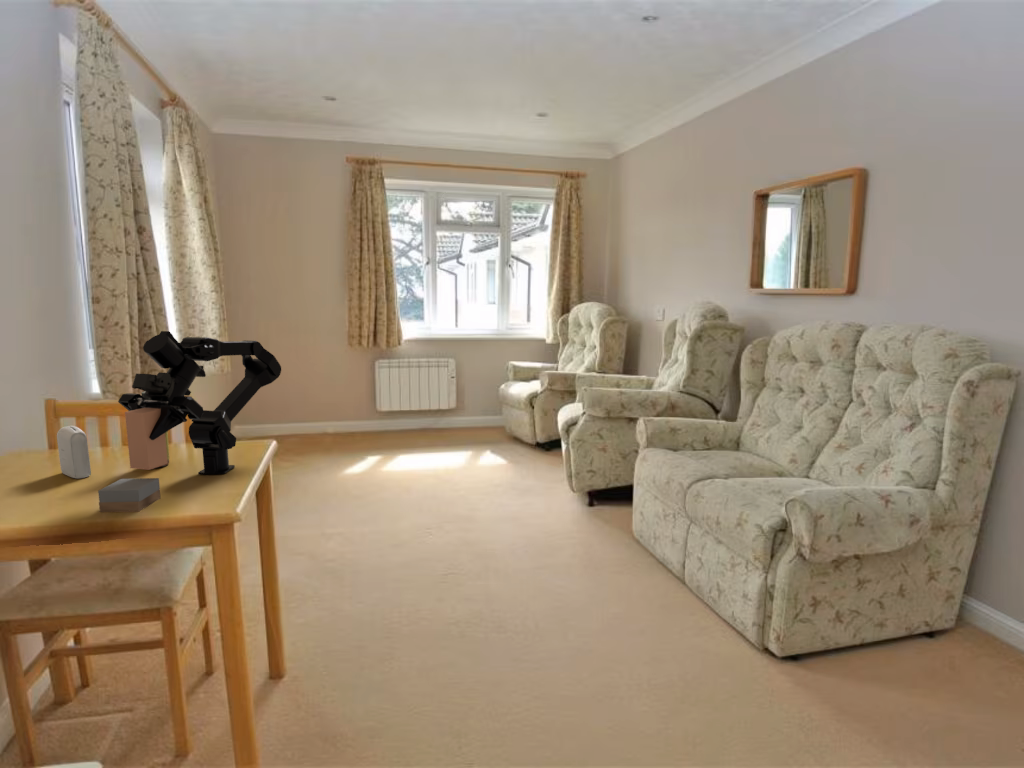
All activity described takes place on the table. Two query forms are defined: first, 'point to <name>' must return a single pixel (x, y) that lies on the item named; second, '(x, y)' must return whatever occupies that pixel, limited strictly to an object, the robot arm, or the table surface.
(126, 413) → the terracotta pillar
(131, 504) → the walnut slab
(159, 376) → the robot arm
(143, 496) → the slate slab
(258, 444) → the table surface
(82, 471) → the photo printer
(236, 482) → the table surface
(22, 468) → the table surface
